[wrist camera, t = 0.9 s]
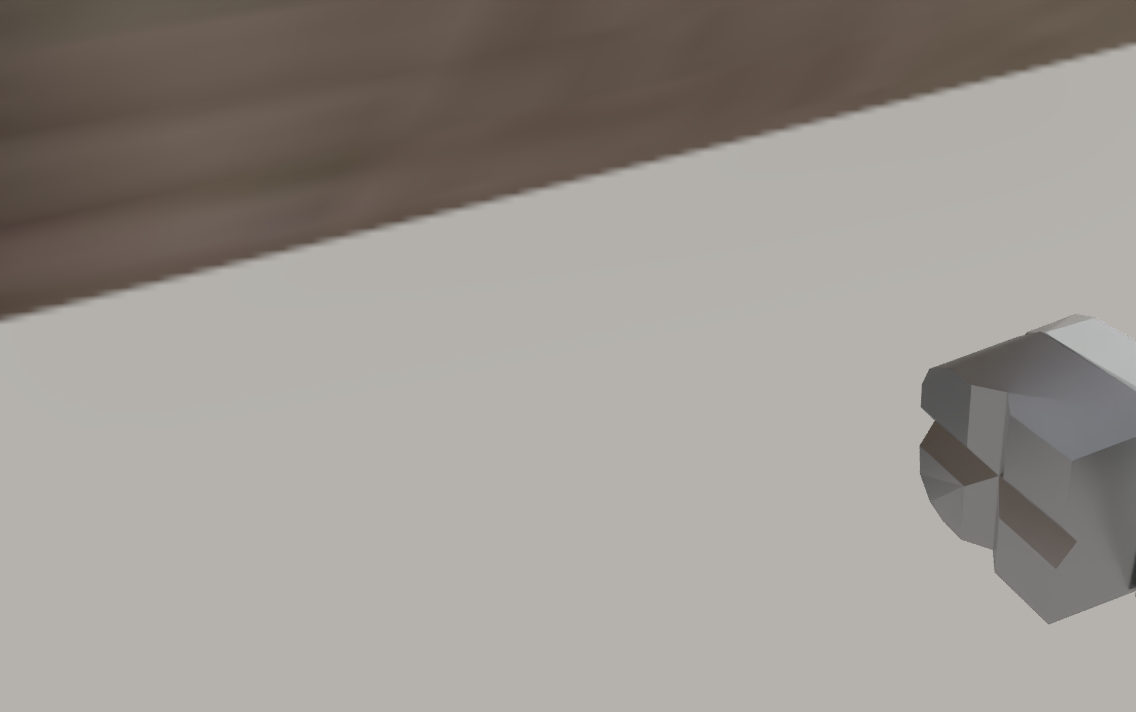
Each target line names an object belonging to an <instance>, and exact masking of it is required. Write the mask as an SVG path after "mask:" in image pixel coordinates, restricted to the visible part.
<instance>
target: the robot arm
mask: <svg viewBox="0 0 1136 712" xmlns="http://www.w3.org/2000/svg"><path fill="white" fill-rule="evenodd" d="M921 407H922V409H924V411H925V412H926V413H928V414H929V415H930V416H931V417H932V418H933V419H934V420H935V422H934V423H933V425H932V426H931V428H930V430H929V431H928V433H927V435H926V436H925V438H924V439H923V441H922V443H921V444H920V475H921V478H922V481H923V483H924V486H925V489H926V492H927V494H928V497H929V500H930V502H931V504H932V505H933V507H934V508H935V510H936V511H937V513H938V514H939V516H940V517H941V519H942V520H943V522H945V523H946V525H947V526H948V527H949V528H950V529H951V530H952V531H953V532H954V533H955V534H956V535H957V536H958V537H959V538H960V539H961V540H964V541H967V542H971V543H973V544H977V545H980V546H983V547H986V548H989V549H992V550H993V558H994V569H995V573H996V574H997V575H998V576H999V577H1000V578H1001V579H1002V580H1003V581H1004V582H1005V583H1006V584H1007V585H1008V586H1009V587H1010V588H1011V589H1012V590H1013V591H1015V592H1016V593H1017V594H1018V595H1019V596H1020V597H1021V598H1022V599H1023V600H1024V601H1025V602H1026V603H1027V604H1028V605H1029V606H1030V607H1031V608H1032V609H1033V610H1034V611H1035V612H1036V613H1037V614H1038V615H1039V616H1040V617H1041V618H1043V620H1045V621H1046V622H1047V623H1048V624H1051V623H1053V622H1056V621H1059V620H1061V619H1064V618H1067V617H1069V616H1072V615H1074V614H1077V613H1080V612H1082V611H1085V610H1087V609H1090V608H1093V607H1095V606H1098V605H1100V604H1103V603H1106V602H1108V601H1111V600H1113V599H1116V598H1118V597H1121V596H1124V595H1126V594H1129V593H1132V592H1134V591H1136V340H1134V339H1132V338H1130V337H1129V336H1127V335H1125V334H1123V333H1121V332H1120V331H1118V330H1116V329H1114V328H1113V327H1111V326H1109V325H1107V324H1106V323H1104V322H1102V321H1101V320H1099V319H1097V318H1095V317H1091V316H1084V315H1078V314H1074V315H1072V316H1069V317H1066V318H1064V319H1061V320H1058V321H1056V322H1053V323H1050V324H1048V325H1045V326H1043V327H1040V328H1037V329H1035V330H1032V331H1029V332H1027V333H1026V334H1025V335H1023V336H1019V337H1016V338H1013V339H1011V340H1008V341H1005V342H1002V343H999V344H997V345H994V346H991V347H988V348H986V349H983V350H980V351H977V352H975V353H972V354H969V355H967V356H964V357H961V358H958V359H956V360H953V361H950V362H947V363H944V364H942V365H939V366H936V367H934V368H931V369H929V371H928V373H927V375H926V377H925V379H924V381H923V383H922V396H921ZM1135 597H1136V594H1135Z"/></svg>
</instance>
